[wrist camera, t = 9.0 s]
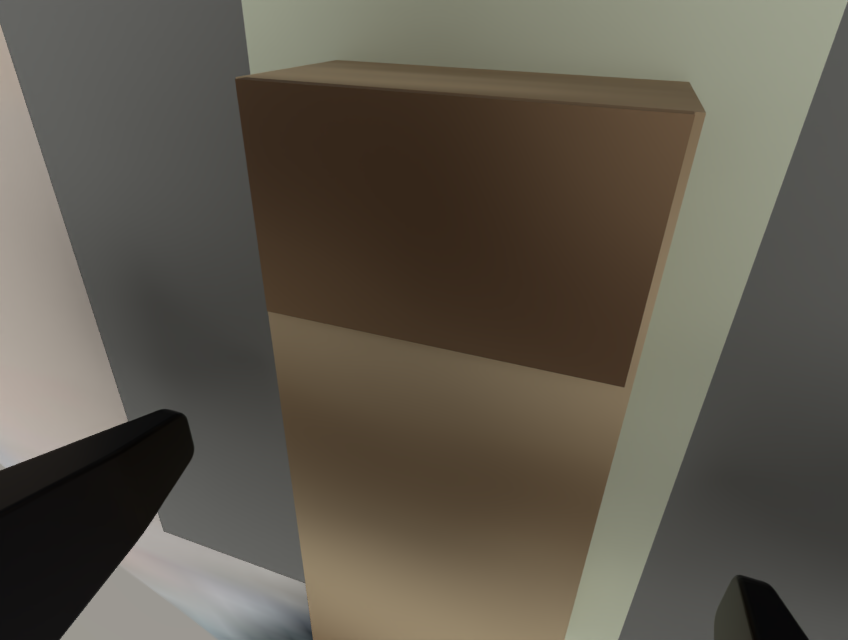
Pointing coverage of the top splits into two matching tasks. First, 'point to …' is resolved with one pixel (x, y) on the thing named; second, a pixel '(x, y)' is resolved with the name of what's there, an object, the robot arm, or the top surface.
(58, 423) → the top surface
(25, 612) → the robot arm
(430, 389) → the two-tone wooden plank
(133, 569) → the top surface
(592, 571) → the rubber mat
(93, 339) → the top surface
